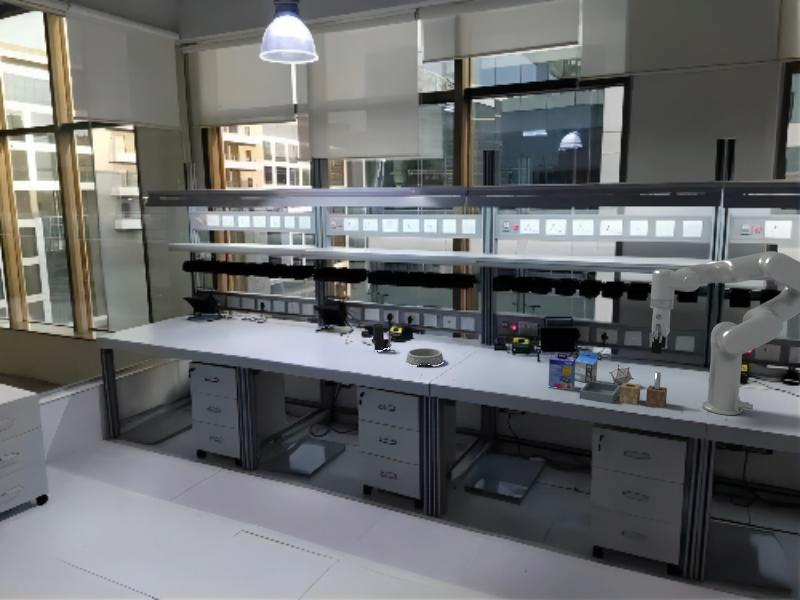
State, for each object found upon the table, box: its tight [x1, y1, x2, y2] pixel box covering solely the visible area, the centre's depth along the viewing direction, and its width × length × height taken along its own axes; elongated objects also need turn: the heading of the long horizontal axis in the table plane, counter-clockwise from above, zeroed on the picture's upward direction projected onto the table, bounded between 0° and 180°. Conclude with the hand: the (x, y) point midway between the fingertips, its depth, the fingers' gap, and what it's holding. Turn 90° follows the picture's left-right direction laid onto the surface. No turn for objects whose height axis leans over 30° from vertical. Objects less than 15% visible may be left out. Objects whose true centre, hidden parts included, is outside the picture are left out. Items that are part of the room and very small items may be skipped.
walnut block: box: [645, 385, 668, 409], centre depth 213 cm, size 6×6×6 cm
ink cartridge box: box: [548, 353, 577, 391], centre depth 234 cm, size 10×6×14 cm, turn 67°
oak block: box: [619, 382, 641, 406], centre depth 217 cm, size 6×6×6 cm
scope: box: [371, 323, 392, 351], centre depth 297 cm, size 8×14×10 cm
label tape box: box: [575, 350, 599, 384], centre depth 242 cm, size 9×4×12 cm, turn 40°
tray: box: [579, 381, 621, 404], centre depth 224 cm, size 12×14×3 cm
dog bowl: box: [405, 347, 445, 367], centre depth 275 cm, size 17×18×5 cm
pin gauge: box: [653, 371, 662, 390], centre depth 213 cm, size 2×2×12 cm
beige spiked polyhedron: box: [608, 364, 635, 386], centre depth 237 cm, size 9×8×10 cm
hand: (658, 350), depth 211 cm, fingers open, 9 cm apart
